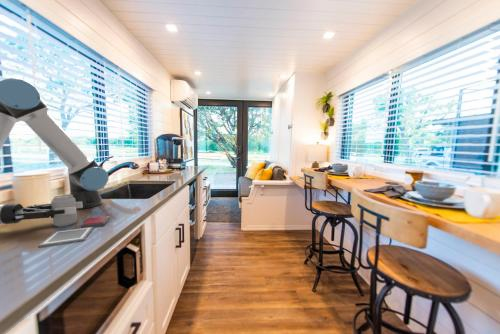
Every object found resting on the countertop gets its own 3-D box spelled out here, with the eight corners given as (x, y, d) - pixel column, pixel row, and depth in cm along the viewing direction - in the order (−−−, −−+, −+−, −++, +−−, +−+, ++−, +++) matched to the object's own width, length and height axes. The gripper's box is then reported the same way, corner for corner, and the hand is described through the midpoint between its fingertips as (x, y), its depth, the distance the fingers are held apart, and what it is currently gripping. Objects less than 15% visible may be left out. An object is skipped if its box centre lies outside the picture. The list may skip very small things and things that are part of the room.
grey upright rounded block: (63, 228, 85) (60, 198, 83) (48, 226, 86) (45, 197, 85) (82, 221, 92) (79, 194, 91) (67, 220, 94) (65, 193, 92)
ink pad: (87, 221, 92) (87, 217, 92) (109, 218, 95) (109, 215, 95) (80, 228, 84) (80, 224, 84) (104, 225, 87) (104, 222, 87)
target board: (55, 233, 80) (55, 231, 80) (93, 228, 85) (93, 226, 84) (38, 247, 69) (38, 245, 69) (84, 240, 74) (83, 238, 73)
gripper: (22, 215, 91) (87, 209, 100) (-14, 233, 73) (70, 223, 81) (20, 198, 90) (85, 193, 99) (-17, 212, 72) (68, 204, 81)
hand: (78, 207), depth 90 cm, fingers closed on grey upright rounded block, 7 cm apart
